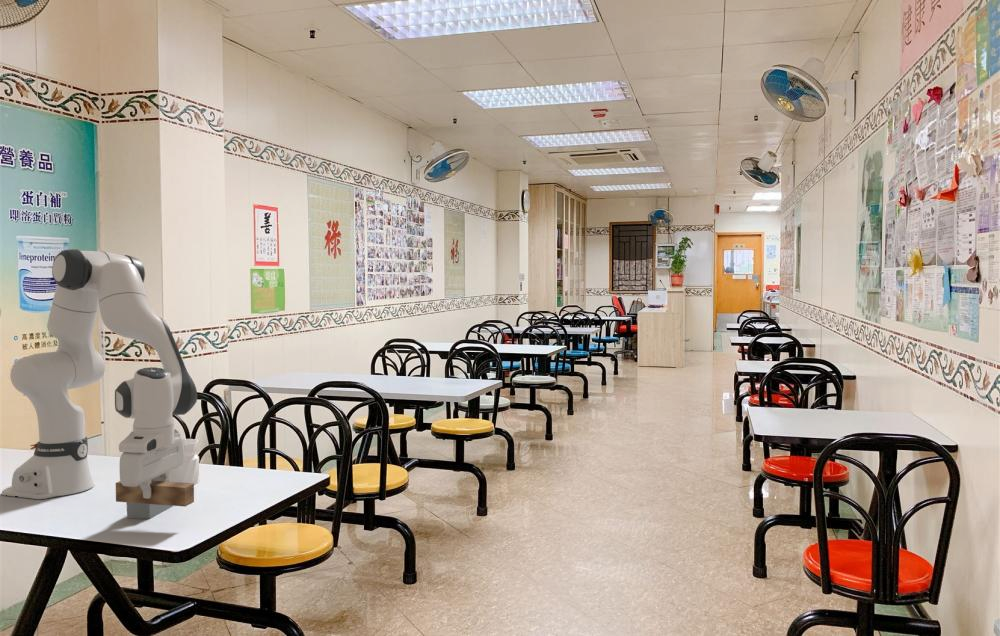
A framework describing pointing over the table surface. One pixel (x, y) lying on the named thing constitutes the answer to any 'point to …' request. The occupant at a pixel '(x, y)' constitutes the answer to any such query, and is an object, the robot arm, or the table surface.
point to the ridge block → (145, 508)
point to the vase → (187, 464)
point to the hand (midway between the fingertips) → (154, 494)
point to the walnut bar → (158, 493)
